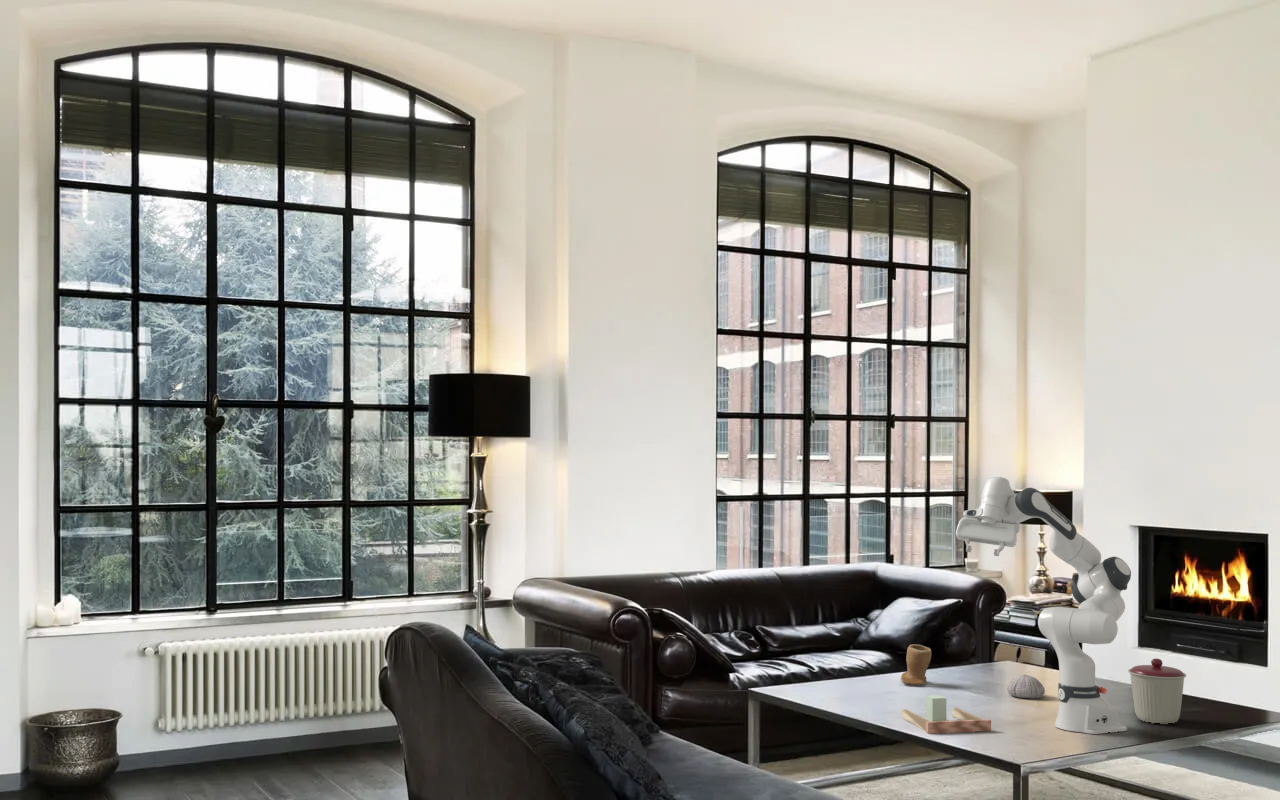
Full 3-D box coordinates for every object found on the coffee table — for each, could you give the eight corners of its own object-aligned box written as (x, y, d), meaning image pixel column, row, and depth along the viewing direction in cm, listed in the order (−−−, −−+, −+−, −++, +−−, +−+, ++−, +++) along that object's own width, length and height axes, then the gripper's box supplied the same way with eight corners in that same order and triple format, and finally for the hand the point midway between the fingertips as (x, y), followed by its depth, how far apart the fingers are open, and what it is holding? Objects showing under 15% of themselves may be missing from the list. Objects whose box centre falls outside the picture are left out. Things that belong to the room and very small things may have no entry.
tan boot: (930, 688, 452) (930, 648, 453) (899, 686, 455) (899, 647, 456) (932, 681, 466) (932, 642, 467) (902, 679, 470) (902, 641, 471)
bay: (959, 716, 402) (959, 706, 402) (991, 731, 380) (991, 720, 381) (899, 718, 398) (899, 708, 398) (927, 733, 376) (927, 722, 376)
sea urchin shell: (1005, 692, 446) (1005, 671, 446) (1042, 694, 443) (1042, 672, 443) (1008, 699, 433) (1008, 677, 433) (1047, 701, 430) (1047, 679, 430)
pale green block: (939, 719, 398) (939, 695, 398) (946, 722, 393) (946, 698, 393) (925, 719, 397) (925, 695, 397) (932, 722, 392) (932, 698, 392)
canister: (1120, 714, 408) (1120, 653, 409) (1174, 716, 407) (1173, 654, 408) (1139, 726, 390) (1139, 662, 391) (1195, 728, 389) (1195, 663, 390)
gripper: (1021, 526, 407) (1014, 562, 400) (962, 519, 416) (954, 553, 410) (1019, 517, 402) (1012, 553, 395) (959, 510, 412) (951, 544, 405)
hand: (982, 553), depth 403 cm, fingers open, 8 cm apart
